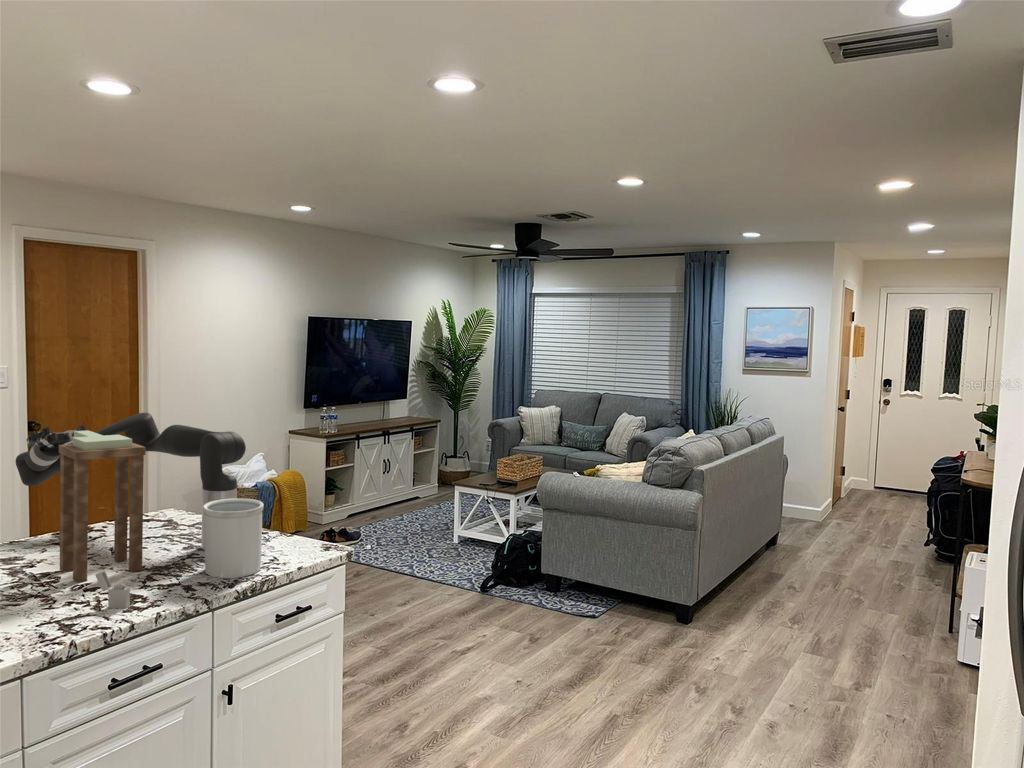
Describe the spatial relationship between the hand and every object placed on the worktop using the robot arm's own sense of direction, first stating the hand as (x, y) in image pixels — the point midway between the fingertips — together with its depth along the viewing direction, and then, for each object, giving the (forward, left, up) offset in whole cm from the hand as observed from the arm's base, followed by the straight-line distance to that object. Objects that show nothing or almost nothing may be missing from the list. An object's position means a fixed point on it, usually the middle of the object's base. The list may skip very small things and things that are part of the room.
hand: (65, 428), depth 210 cm
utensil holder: (-13, +51, -34) cm, 62 cm away
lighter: (+20, +50, -34) cm, 63 cm away
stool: (+6, +25, -33) cm, 42 cm away
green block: (+4, +19, -1) cm, 20 cm away
